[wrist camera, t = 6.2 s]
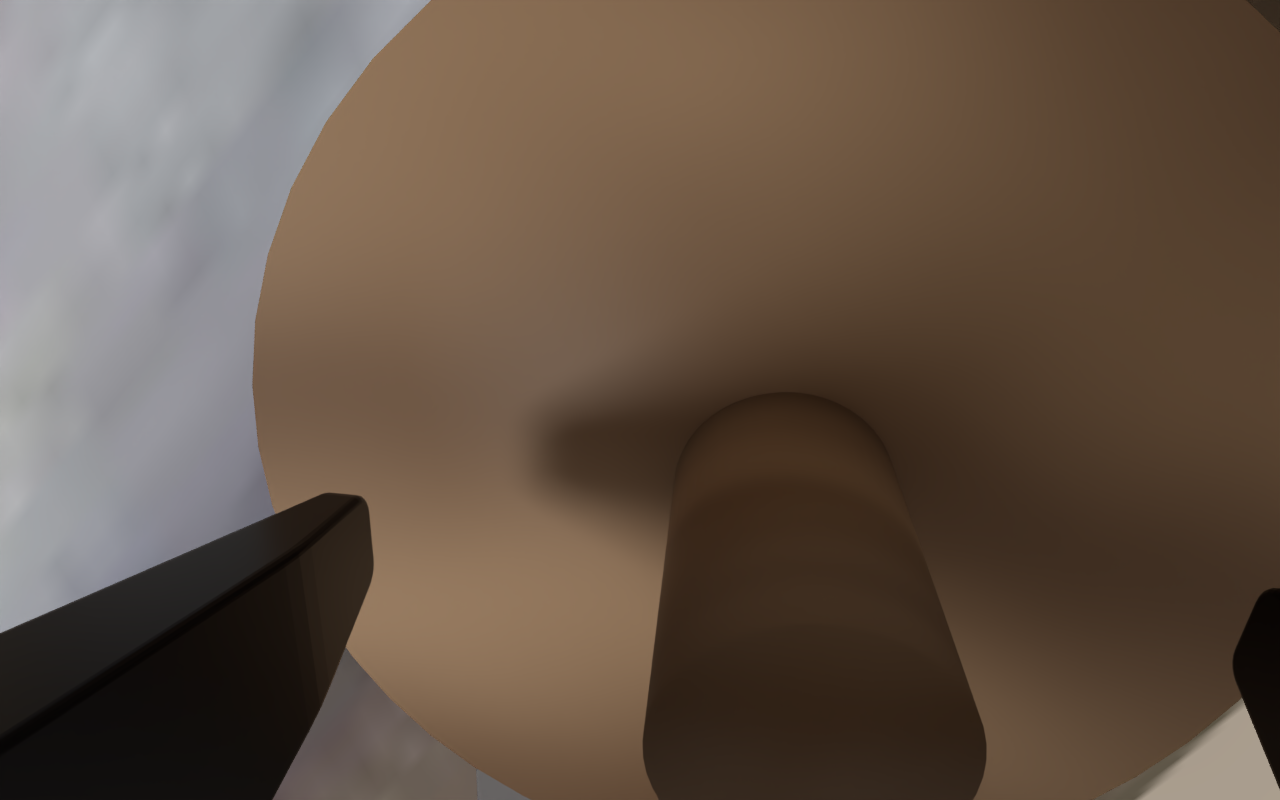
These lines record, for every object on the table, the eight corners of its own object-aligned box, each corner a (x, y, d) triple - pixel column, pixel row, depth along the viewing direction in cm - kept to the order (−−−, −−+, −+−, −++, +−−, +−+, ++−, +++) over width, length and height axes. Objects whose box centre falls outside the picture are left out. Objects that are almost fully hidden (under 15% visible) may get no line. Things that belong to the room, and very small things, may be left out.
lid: (1157, 862, 13) (1363, 1281, 9) (341, 771, 14) (168, 1110, 10) (1583, -113, 8) (2687, -268, 3) (201, -158, 9) (-333, -322, 4)
